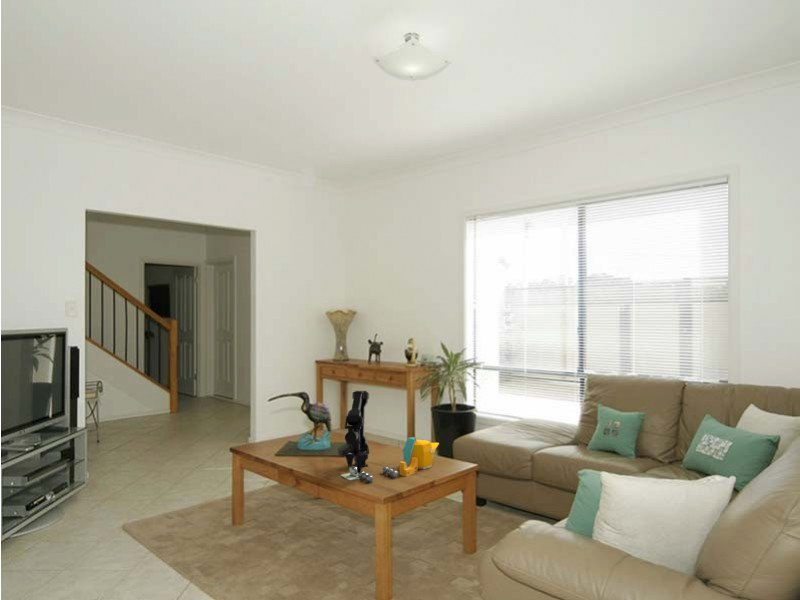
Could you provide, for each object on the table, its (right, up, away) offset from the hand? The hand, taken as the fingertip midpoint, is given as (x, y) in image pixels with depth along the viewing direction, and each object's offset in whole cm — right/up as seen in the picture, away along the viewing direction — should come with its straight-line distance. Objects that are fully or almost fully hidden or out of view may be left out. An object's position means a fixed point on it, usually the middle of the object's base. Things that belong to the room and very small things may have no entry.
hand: (354, 470), depth 278 cm
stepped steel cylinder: (0, -3, 0) cm, 3 cm away
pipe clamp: (+28, -3, +6) cm, 29 cm away
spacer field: (+12, -3, -2) cm, 12 cm away
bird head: (+34, -4, +20) cm, 40 cm away
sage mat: (0, -3, 0) cm, 3 cm away
